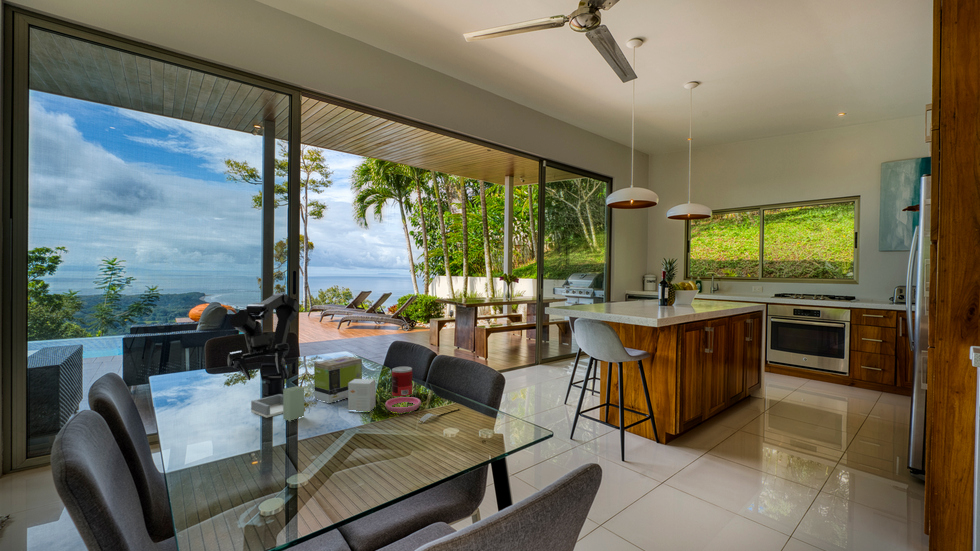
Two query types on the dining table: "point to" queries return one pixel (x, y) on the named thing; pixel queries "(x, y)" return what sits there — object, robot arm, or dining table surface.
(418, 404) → the pink shallow round dish
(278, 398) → the keeper bay
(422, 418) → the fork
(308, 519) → the dining table surface
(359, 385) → the small box
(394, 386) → the canned food
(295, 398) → the green block
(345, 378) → the tea box
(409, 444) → the dining table surface
